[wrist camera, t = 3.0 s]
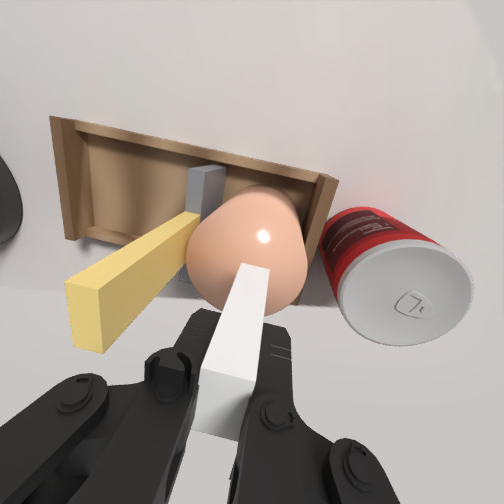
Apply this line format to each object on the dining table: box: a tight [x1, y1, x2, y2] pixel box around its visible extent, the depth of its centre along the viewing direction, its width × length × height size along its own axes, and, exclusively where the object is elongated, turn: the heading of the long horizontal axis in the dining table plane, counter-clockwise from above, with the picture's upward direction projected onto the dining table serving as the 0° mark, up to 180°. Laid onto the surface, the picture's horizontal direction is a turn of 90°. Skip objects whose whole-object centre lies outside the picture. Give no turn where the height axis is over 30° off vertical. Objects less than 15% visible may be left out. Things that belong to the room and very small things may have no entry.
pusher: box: [64, 164, 227, 354], centre depth 17 cm, size 1×9×18 cm, turn 169°
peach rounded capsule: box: [186, 184, 308, 316], centre depth 20 cm, size 8×8×11 cm
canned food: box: [319, 207, 474, 346], centre depth 20 cm, size 8×8×11 cm
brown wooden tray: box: [49, 116, 339, 306], centre depth 23 cm, size 25×12×6 cm, turn 79°
